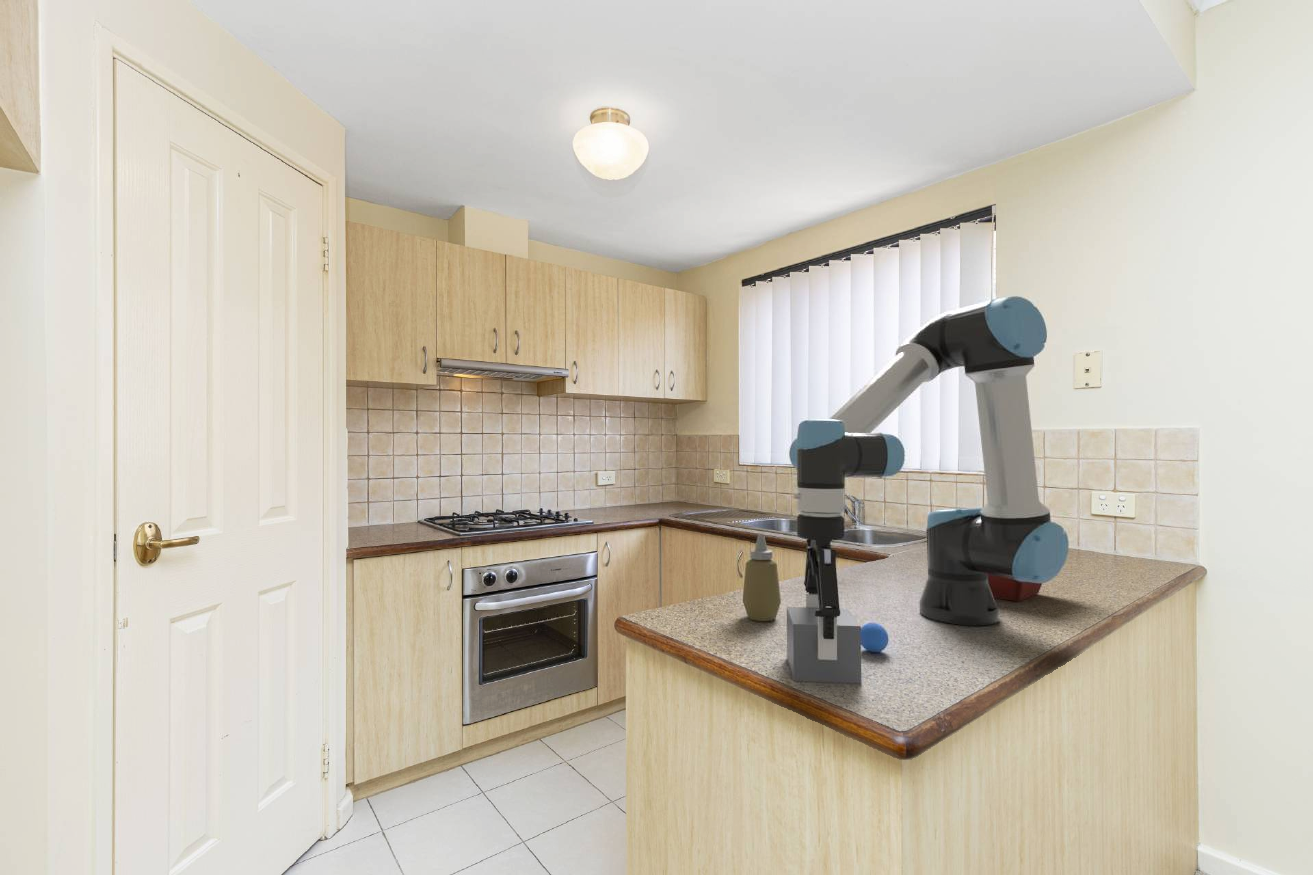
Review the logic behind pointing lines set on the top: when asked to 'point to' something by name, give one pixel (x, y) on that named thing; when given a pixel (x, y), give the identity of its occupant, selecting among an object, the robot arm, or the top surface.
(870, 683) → the top surface
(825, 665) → the grey cubic block
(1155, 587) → the top surface
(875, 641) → the ball
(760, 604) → the squeeze bottle
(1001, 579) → the plant pot
